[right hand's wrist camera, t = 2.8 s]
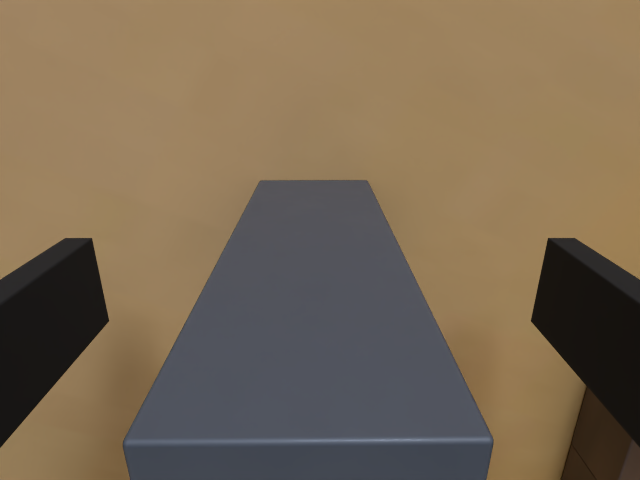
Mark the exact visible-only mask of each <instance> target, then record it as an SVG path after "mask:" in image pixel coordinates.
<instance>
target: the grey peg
mask: <svg viewBox="0 0 640 480" xmlns="http://www.w3.org/2000/svg"><path fill="white" fill-rule="evenodd" d="M492 448H493V438H492V435H491V433H490V431H489V429H488V427H487V425H486V423H485V421H484V419H483V417H482V415H481V413H480V411H479V409H478V407H477V404H476V402H475V400H474V398H473V396H472V394H471V392H470V390H469V388H468V386H467V384H466V382H465V380H464V378H463V376H462V374H461V372H460V370H459V368H458V365H457V363H456V361H455V359H454V357H453V355H452V353H451V351H450V349H449V347H448V345H447V343H446V341H445V339H444V337H443V335H442V333H441V331H440V329H439V326H438V324H437V322H436V320H435V318H434V316H433V314H432V312H431V310H430V308H429V306H428V304H427V302H426V300H425V298H424V296H423V294H422V292H421V290H420V287H419V285H418V283H417V281H416V279H415V277H414V275H413V273H412V271H411V269H410V267H409V265H408V263H407V261H406V259H405V257H404V255H403V253H402V251H401V248H400V246H399V244H398V242H397V240H396V238H395V236H394V234H393V232H392V230H391V228H390V226H389V224H388V222H387V220H386V218H385V216H384V214H383V212H382V209H381V207H380V205H379V203H378V201H377V199H376V197H375V195H374V193H373V191H372V189H371V187H370V185H369V183H368V181H367V180H290V181H260V182H259V184H258V186H257V188H256V189H255V191H254V193H253V195H252V197H251V199H250V201H249V203H248V205H247V207H246V208H245V210H244V212H243V214H242V216H241V218H240V220H239V222H238V224H237V226H236V227H235V229H234V231H233V233H232V235H231V237H230V239H229V241H228V243H227V245H226V246H225V248H224V250H223V252H222V254H221V256H220V258H219V260H218V262H217V264H216V265H215V267H214V269H213V271H212V273H211V275H210V277H209V279H208V281H207V283H206V284H205V286H204V288H203V290H202V292H201V294H200V296H199V298H198V300H197V302H196V303H195V305H194V307H193V309H192V311H191V313H190V315H189V317H188V319H187V321H186V322H185V324H184V326H183V328H182V330H181V332H180V334H179V336H178V338H177V340H176V341H175V343H174V345H173V347H172V349H171V351H170V353H169V355H168V357H167V359H166V360H165V362H164V364H163V366H162V368H161V370H160V372H159V374H158V376H157V378H156V379H155V381H154V383H153V385H152V387H151V389H150V391H149V393H148V395H147V397H146V399H145V400H144V402H143V404H142V406H141V408H140V410H139V412H138V414H137V416H136V418H135V419H134V421H133V423H132V425H131V427H130V429H129V431H128V433H127V435H126V437H125V438H124V441H123V449H124V454H125V458H126V463H127V467H128V472H129V476H130V480H486V479H487V473H488V468H489V463H490V458H491V453H492Z"/></svg>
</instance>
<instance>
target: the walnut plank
mask: <svg viewBox="0 0 640 480" xmlns="http://www.w3.org/2000/svg"><path fill="white" fill-rule="evenodd" d="M561 480H640V447H639V446H638V445H637V444H636V443H635V442H634V440H633V439H632V438H631V437H630V436H629V435H628V433H627V432H626V431H625V430H624V429H623V428H622V426H621V425H620V424H619V423H618V422H617V421H616V419H615V418H614V417H613V416H612V415H611V414H610V412H609V411H608V410H607V409H606V408H605V407H604V405H603V404H602V403H601V402H600V401H599V400H598V398H597V397H596V396H595V395H594V394H593V393H592V392H591V390H590V389H589V388H588V387H587V390H586V394H585V397H584V401H583V404H582V408H581V411H580V415H579V418H578V422H577V426H576V429H575V433H574V436H573V440H572V445H571V448H570V451H569V455H568V458H567V462H566V465H565V469H564V472H563V476H562V479H561Z"/></svg>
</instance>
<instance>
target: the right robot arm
mask: <svg viewBox="0 0 640 480" xmlns="http://www.w3.org/2000/svg"><path fill="white" fill-rule="evenodd" d="M108 322H109V318H108V314H107V309H106V304H105V299H104V294H103V289H102V285H101V280H100V275H99V270H98V265H97V261H96V256H95V251H94V246H93V241H92V238H65V239H63V240H62V241H60V242H59V243H57V244H55V245H54V246H52V247H51V248H49V249H48V250H46V251H44V252H43V253H41V254H40V255H38V256H37V257H35V258H33V259H32V260H30V261H29V262H27V263H26V264H24V265H23V266H21V267H19V268H18V269H16V270H15V271H13V272H12V273H10V274H8V275H7V276H5V277H4V278H2V279H1V280H0V447H1V446H2V445H3V444H4V443H5V442H6V440H7V439H8V438H9V437H10V436H11V435H12V433H13V432H14V431H15V430H16V429H17V428H18V426H19V425H20V424H21V423H22V422H23V421H24V419H25V418H26V417H27V416H28V415H29V414H30V412H31V411H32V410H33V409H34V408H35V407H36V405H37V404H38V403H39V402H40V401H41V400H42V398H43V397H44V396H45V395H46V394H47V393H48V392H49V390H50V389H51V388H52V387H53V386H54V385H55V383H56V382H57V381H58V380H59V379H60V378H61V376H62V375H63V374H64V373H65V372H66V371H67V369H68V368H69V367H70V366H71V365H72V364H73V362H74V361H75V360H76V359H77V358H78V357H79V355H80V354H81V353H82V352H83V351H84V350H85V348H86V347H87V346H88V345H89V344H90V343H91V341H92V340H93V339H94V338H95V337H96V336H97V334H98V333H99V332H100V331H101V330H102V329H103V327H104V326H105V325H106V324H107V323H108ZM531 322H532V323H533V324H534V325H535V326H536V327H537V329H538V330H539V331H540V332H541V333H542V334H543V336H544V337H545V338H546V339H547V340H548V341H549V343H550V344H551V345H552V346H553V347H554V348H555V350H556V351H557V352H558V353H559V354H560V355H561V357H562V358H563V359H564V360H565V361H566V362H567V364H568V365H569V366H570V367H571V368H572V369H573V371H574V372H575V373H576V374H577V375H578V376H579V378H580V379H581V380H582V381H583V382H584V383H585V385H586V386H587V387H588V388H589V389H590V390H591V392H592V393H593V394H594V395H595V396H596V397H597V398H598V400H599V401H600V402H601V403H602V404H603V405H604V407H605V408H606V409H607V410H608V411H609V412H610V414H611V415H612V416H613V417H614V418H615V419H616V421H617V422H618V423H619V424H620V425H621V426H622V428H623V429H624V430H625V431H626V432H627V433H628V435H629V436H630V437H631V438H632V439H633V440H634V442H635V443H636V444H637V445H638V446H639V447H640V280H639V279H638V278H636V277H635V276H633V275H632V274H630V273H628V272H627V271H625V270H624V269H622V268H621V267H619V266H617V265H616V264H614V263H613V262H611V261H610V260H608V259H607V258H605V257H603V256H602V255H600V254H599V253H597V252H596V251H594V250H592V249H591V248H589V247H588V246H586V245H585V244H583V243H581V242H580V241H578V240H577V239H575V238H548V241H547V246H546V251H545V256H544V261H543V265H542V270H541V275H540V280H539V285H538V289H537V294H536V299H535V304H534V309H533V314H532V318H531Z"/></svg>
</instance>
